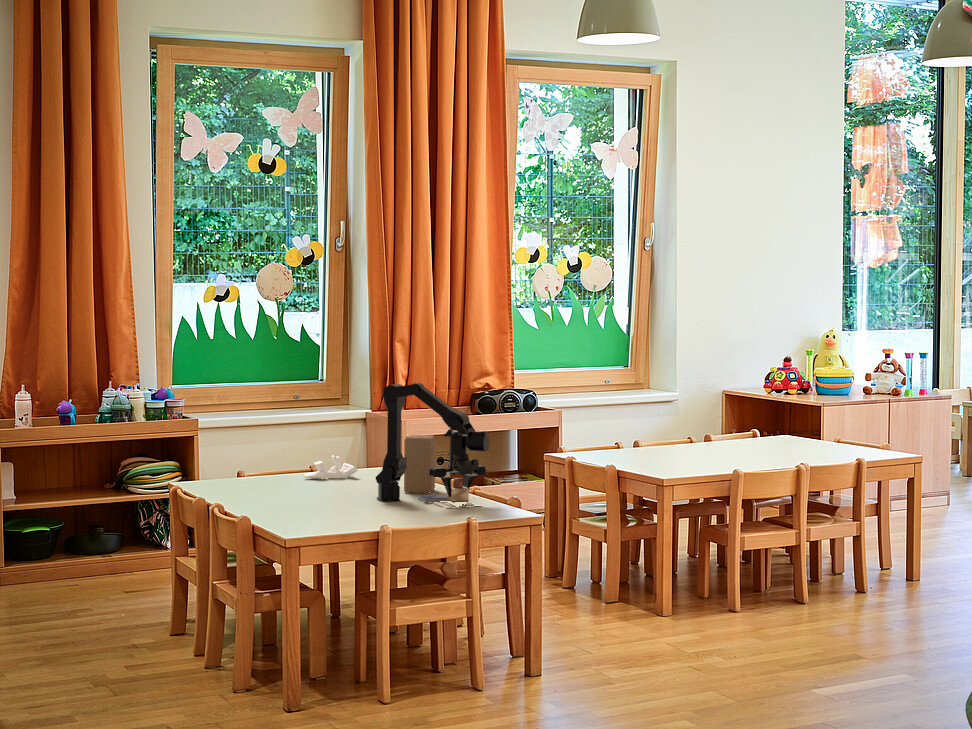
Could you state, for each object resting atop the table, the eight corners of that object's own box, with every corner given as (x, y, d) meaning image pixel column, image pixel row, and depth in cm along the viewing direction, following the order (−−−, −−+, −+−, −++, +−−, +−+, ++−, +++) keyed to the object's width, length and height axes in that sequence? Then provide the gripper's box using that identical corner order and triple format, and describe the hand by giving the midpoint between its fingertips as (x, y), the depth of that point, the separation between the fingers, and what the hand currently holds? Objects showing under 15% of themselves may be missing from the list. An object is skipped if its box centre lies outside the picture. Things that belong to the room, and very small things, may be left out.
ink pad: (425, 503, 385) (425, 499, 384) (417, 500, 391) (417, 496, 391) (452, 501, 389) (452, 497, 389) (444, 498, 395) (444, 494, 395)
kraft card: (446, 509, 374) (446, 507, 374) (433, 503, 384) (433, 502, 384) (482, 506, 380) (482, 505, 380) (468, 501, 390) (468, 500, 390)
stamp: (453, 502, 378) (453, 480, 378) (447, 500, 383) (447, 477, 383) (468, 501, 381) (468, 479, 380) (462, 499, 386) (462, 477, 385)
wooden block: (435, 489, 416) (435, 435, 415) (431, 494, 406) (431, 438, 405) (408, 489, 417) (408, 434, 416) (403, 493, 407) (403, 437, 406)
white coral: (299, 478, 443) (299, 455, 442) (348, 475, 452) (348, 453, 451) (308, 481, 433) (308, 458, 433) (358, 479, 442) (358, 456, 441)
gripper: (441, 454, 370) (441, 501, 371) (493, 451, 378) (493, 498, 378) (428, 450, 380) (428, 496, 381) (479, 448, 388) (479, 493, 389)
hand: (457, 496), depth 382 cm, fingers closed on stamp, 5 cm apart
